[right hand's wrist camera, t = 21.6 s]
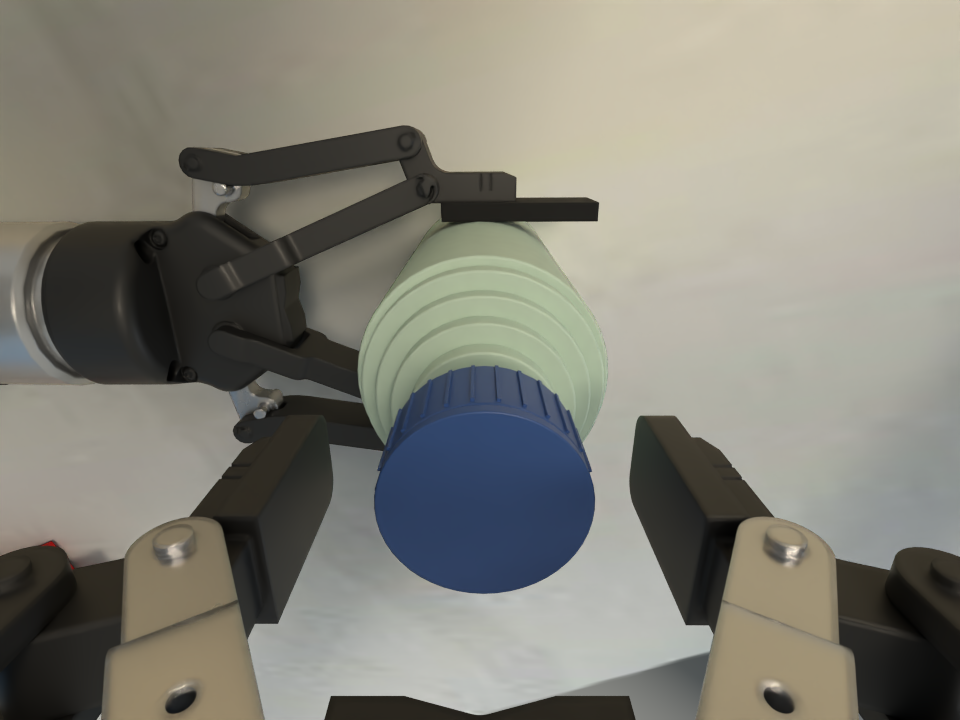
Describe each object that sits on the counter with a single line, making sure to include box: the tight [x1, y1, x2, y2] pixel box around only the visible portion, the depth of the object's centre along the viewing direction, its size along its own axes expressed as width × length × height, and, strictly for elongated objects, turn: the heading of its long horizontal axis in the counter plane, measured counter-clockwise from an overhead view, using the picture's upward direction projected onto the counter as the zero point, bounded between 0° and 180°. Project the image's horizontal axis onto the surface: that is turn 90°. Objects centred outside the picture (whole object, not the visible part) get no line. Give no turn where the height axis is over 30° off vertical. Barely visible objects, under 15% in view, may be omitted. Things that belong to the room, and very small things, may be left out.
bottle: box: [358, 219, 608, 445], centre depth 21 cm, size 8×8×21 cm
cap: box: [374, 365, 595, 594], centre depth 11 cm, size 4×4×2 cm
